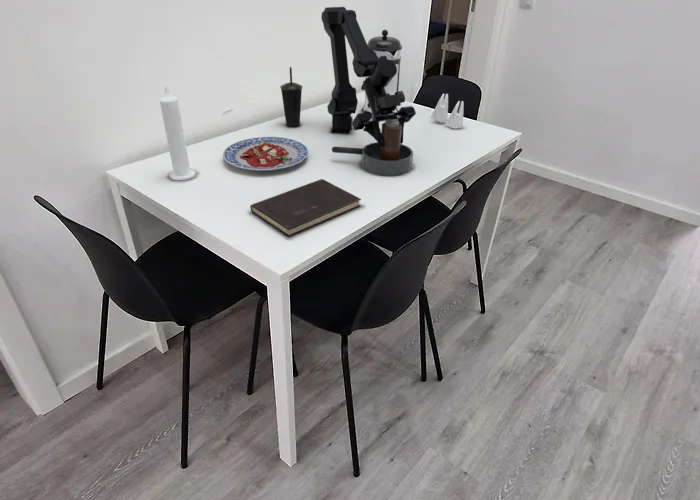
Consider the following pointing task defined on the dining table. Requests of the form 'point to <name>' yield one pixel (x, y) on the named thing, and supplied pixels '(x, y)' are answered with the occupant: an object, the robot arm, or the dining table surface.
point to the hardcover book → (305, 207)
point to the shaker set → (442, 113)
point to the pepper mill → (391, 140)
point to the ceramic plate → (265, 153)
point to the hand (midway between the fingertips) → (392, 144)
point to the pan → (383, 167)
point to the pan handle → (348, 150)
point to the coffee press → (392, 52)
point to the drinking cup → (292, 102)
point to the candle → (175, 138)
